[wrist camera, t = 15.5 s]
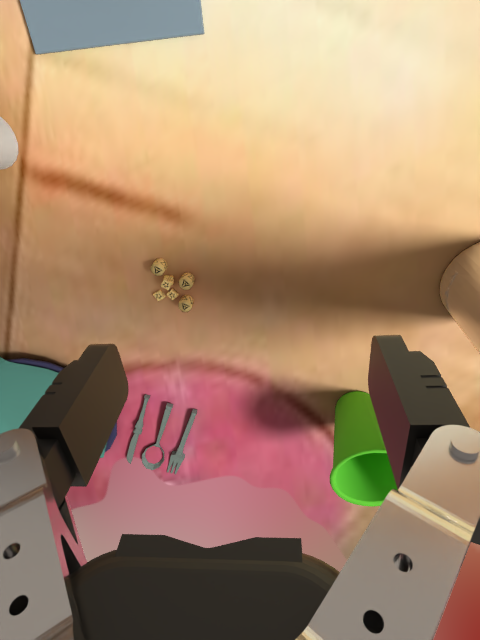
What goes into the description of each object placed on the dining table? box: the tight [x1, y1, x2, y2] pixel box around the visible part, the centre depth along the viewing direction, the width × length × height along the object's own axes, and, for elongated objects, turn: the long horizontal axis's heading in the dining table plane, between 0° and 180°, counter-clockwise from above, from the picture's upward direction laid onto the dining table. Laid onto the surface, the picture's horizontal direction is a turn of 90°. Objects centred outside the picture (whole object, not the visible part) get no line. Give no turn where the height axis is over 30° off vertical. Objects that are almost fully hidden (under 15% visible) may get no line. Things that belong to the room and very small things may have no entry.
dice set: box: [151, 258, 195, 312], centre depth 43 cm, size 5×5×2 cm
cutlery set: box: [0, 356, 197, 474], centre depth 55 cm, size 20×30×2 cm, turn 72°
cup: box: [330, 391, 398, 506], centre depth 45 cm, size 9×9×11 cm
